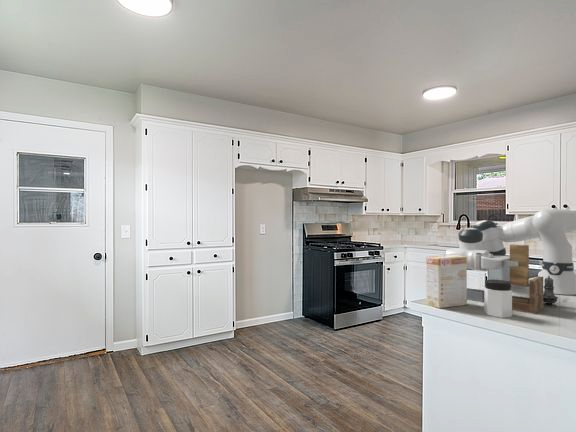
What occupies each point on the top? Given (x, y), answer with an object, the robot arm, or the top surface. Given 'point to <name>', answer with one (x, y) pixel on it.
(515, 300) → the offcut boards
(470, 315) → the top surface
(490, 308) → the jar
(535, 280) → the walnut rack
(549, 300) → the salt shaker
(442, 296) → the coffeecake box
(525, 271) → the wooden block
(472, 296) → the slate holder
